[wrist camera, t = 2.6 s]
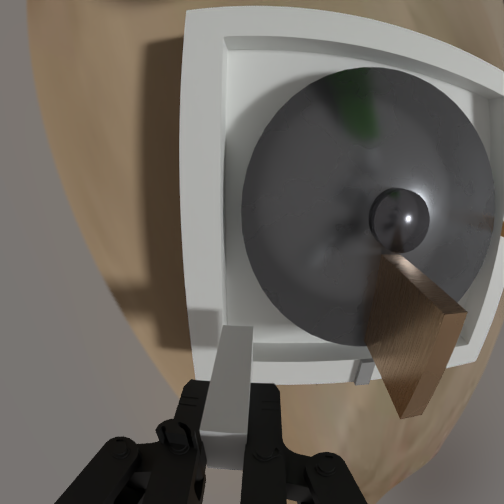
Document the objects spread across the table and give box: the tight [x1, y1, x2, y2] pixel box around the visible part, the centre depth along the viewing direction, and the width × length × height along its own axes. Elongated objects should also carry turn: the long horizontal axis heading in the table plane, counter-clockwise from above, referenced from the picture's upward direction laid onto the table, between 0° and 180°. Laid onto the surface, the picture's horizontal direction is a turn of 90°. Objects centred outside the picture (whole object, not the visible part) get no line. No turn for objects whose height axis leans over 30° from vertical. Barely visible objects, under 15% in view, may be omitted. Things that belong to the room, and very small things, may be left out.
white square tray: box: [179, 6, 504, 385], centre depth 15 cm, size 22×22×4 cm
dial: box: [241, 67, 495, 419], centre depth 11 cm, size 16×16×8 cm
